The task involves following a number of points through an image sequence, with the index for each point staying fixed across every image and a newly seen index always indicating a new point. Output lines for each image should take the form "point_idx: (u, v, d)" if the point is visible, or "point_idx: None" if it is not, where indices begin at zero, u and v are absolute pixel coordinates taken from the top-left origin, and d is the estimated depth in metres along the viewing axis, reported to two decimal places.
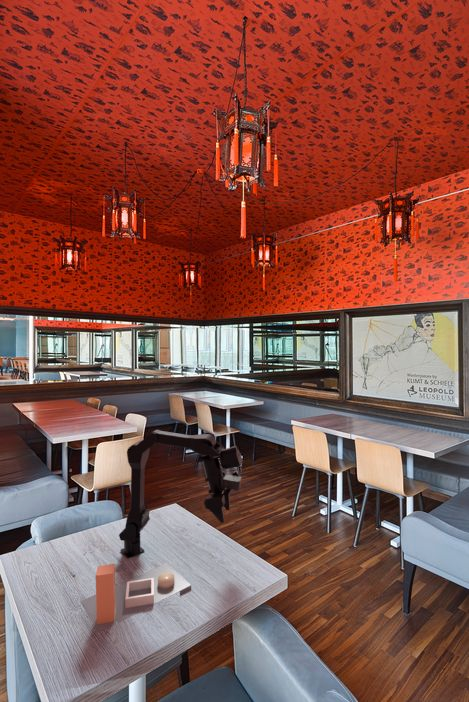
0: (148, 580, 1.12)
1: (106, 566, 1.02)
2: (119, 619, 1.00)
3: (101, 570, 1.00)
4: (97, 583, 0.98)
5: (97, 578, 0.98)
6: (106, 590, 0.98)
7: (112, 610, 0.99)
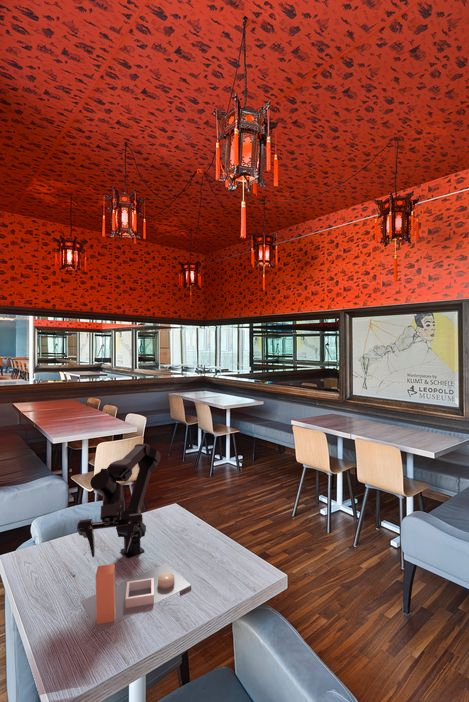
0: (148, 580, 1.12)
1: (106, 566, 1.02)
2: (119, 619, 1.00)
3: (101, 570, 1.00)
4: (97, 583, 0.98)
5: (97, 578, 0.98)
6: (106, 590, 0.98)
7: (112, 610, 0.99)
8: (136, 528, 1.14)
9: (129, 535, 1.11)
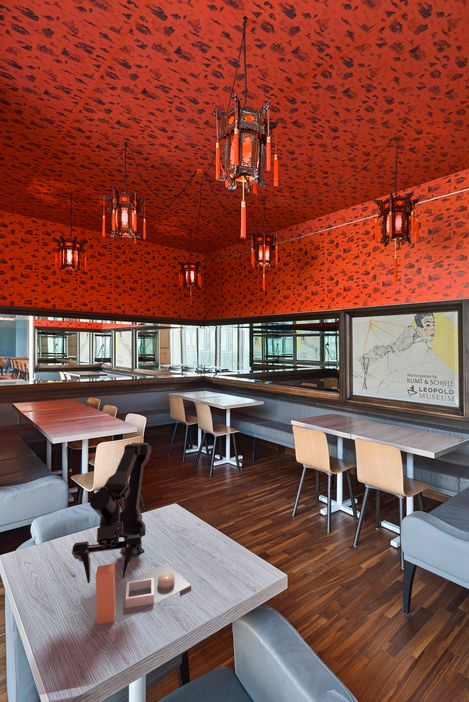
0: (148, 580, 1.12)
1: (106, 566, 1.02)
2: (119, 619, 1.00)
3: (101, 570, 1.00)
4: (97, 583, 0.98)
5: (97, 578, 0.98)
6: (106, 590, 0.98)
7: (112, 610, 0.99)
8: (134, 551, 1.08)
9: (127, 559, 1.05)
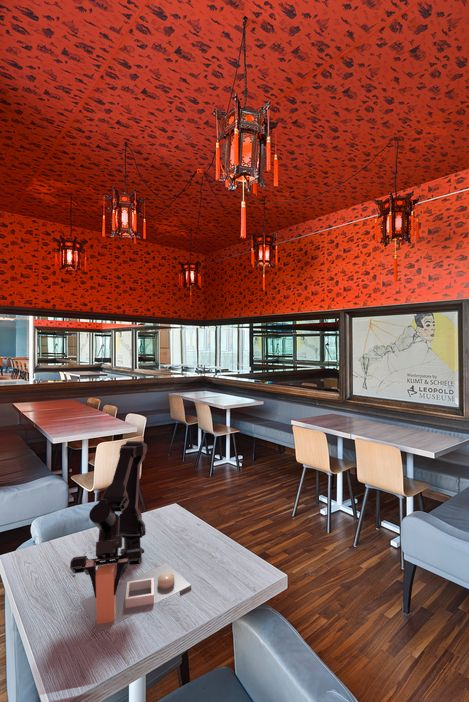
0: (148, 580, 1.12)
1: (106, 566, 1.02)
2: (119, 619, 1.00)
3: (101, 570, 1.00)
4: (97, 583, 0.98)
5: (97, 578, 0.98)
6: (106, 590, 0.98)
7: (112, 610, 0.99)
8: (126, 566, 1.05)
9: (118, 575, 1.02)
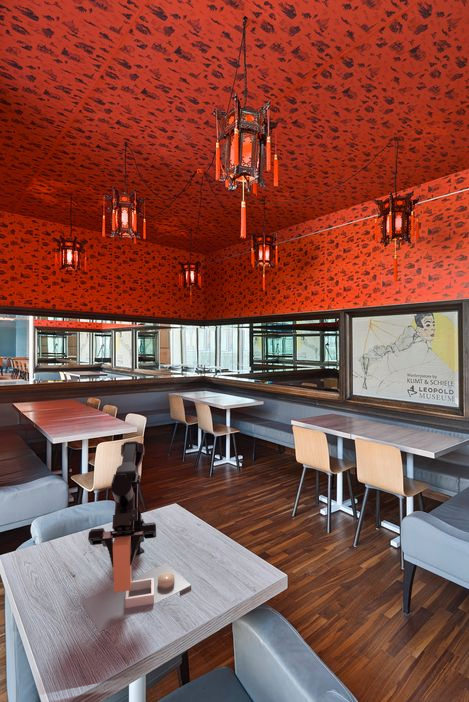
0: (148, 580, 1.12)
1: (122, 538, 1.05)
2: (119, 619, 1.00)
3: (118, 541, 1.04)
4: (114, 553, 1.02)
5: (114, 548, 1.02)
6: (123, 560, 1.02)
7: (128, 579, 1.03)
8: (142, 539, 1.09)
9: (134, 547, 1.05)
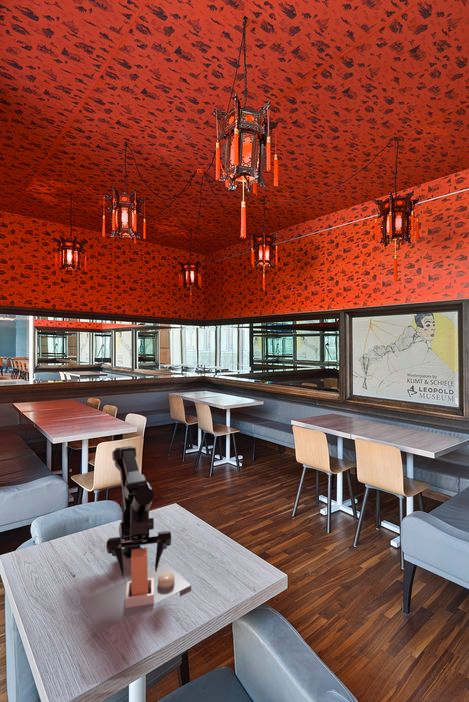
0: (148, 580, 1.12)
1: (139, 550, 1.09)
2: (119, 619, 1.00)
3: (135, 553, 1.08)
4: (132, 565, 1.06)
5: (132, 560, 1.06)
6: (141, 571, 1.06)
7: (146, 590, 1.07)
8: (165, 546, 1.13)
9: (158, 554, 1.10)
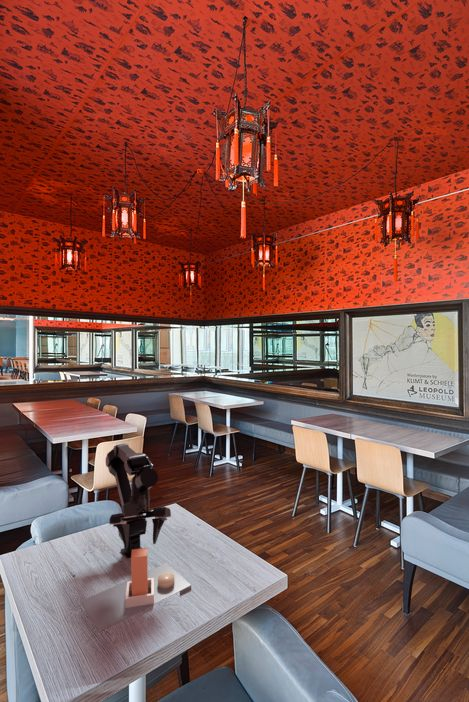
0: (148, 580, 1.12)
1: (139, 550, 1.09)
2: (119, 619, 1.00)
3: (135, 553, 1.08)
4: (132, 565, 1.06)
5: (132, 560, 1.06)
6: (141, 571, 1.06)
7: (146, 590, 1.07)
8: (163, 520, 1.18)
9: (155, 528, 1.15)
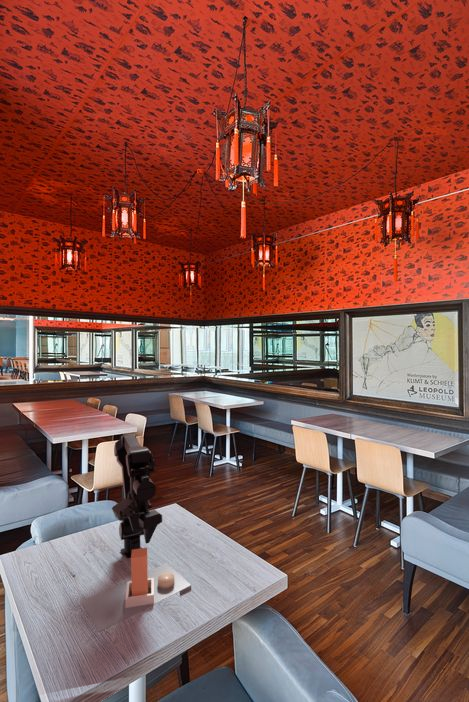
0: (148, 580, 1.12)
1: (139, 550, 1.09)
2: (119, 619, 1.00)
3: (135, 553, 1.08)
4: (132, 565, 1.06)
5: (132, 560, 1.06)
6: (141, 571, 1.06)
7: (146, 590, 1.07)
8: None
9: (144, 532, 1.13)
